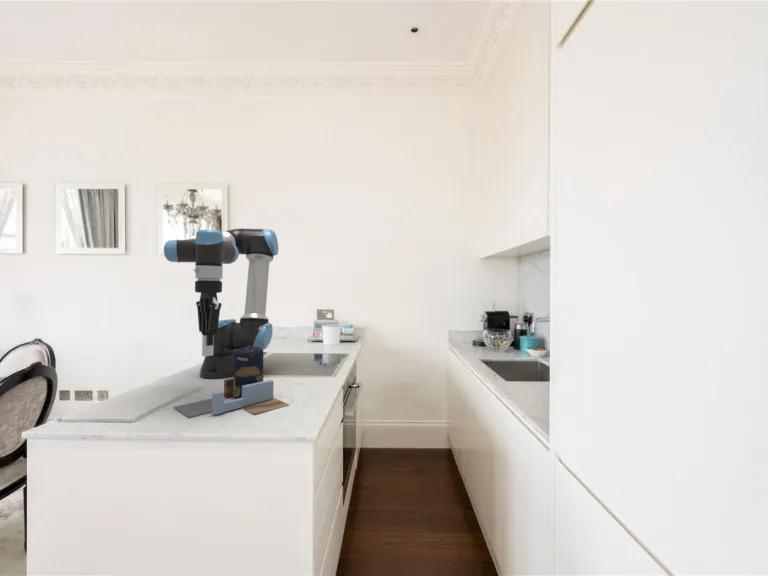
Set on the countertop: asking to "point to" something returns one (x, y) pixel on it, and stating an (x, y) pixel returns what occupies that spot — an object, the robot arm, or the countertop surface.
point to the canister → (247, 368)
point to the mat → (195, 408)
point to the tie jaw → (243, 397)
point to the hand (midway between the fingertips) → (207, 355)
